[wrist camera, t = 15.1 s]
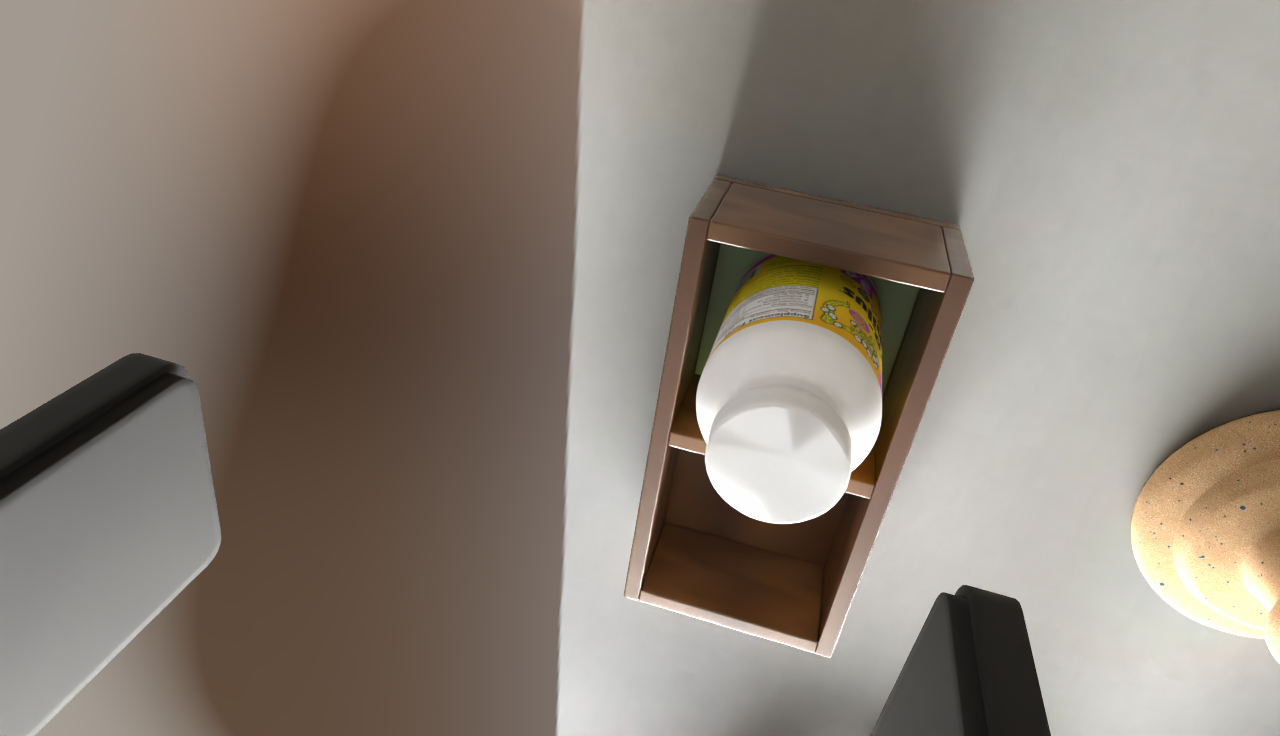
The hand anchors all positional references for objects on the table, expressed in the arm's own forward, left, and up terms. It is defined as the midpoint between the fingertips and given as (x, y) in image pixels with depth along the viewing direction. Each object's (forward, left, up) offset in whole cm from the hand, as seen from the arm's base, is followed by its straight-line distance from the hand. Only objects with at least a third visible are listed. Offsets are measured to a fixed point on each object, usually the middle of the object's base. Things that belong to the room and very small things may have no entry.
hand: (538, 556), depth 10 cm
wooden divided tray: (+3, -13, -28) cm, 31 cm away
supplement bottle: (+3, -8, -28) cm, 29 cm away
